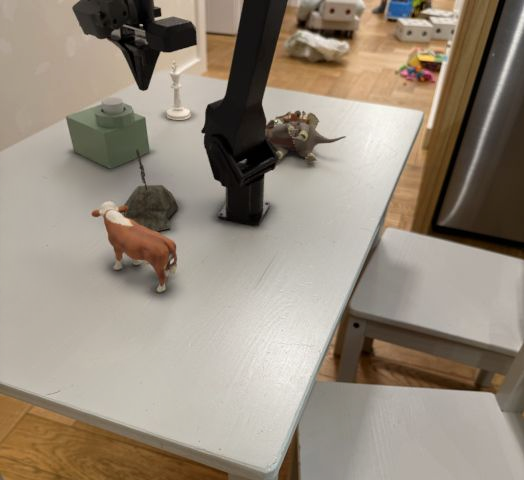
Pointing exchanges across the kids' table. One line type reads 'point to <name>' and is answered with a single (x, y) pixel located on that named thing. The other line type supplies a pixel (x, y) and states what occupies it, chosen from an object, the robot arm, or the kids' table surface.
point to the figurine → (296, 134)
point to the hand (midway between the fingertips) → (143, 89)
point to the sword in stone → (150, 204)
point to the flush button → (112, 105)
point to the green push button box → (108, 135)
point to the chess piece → (177, 98)
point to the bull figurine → (138, 242)
